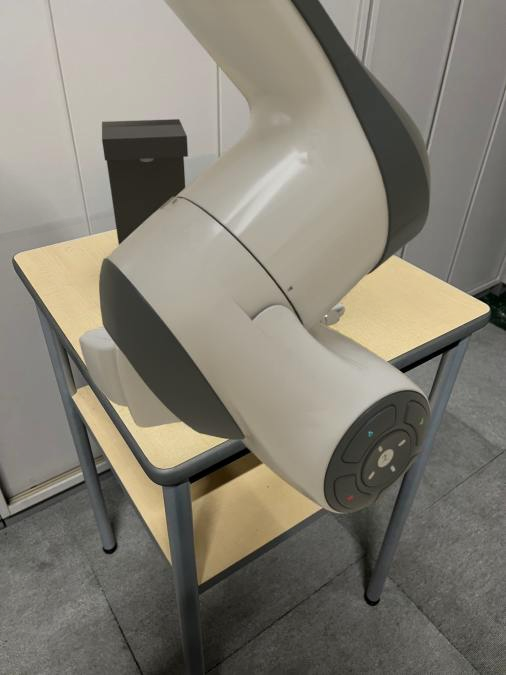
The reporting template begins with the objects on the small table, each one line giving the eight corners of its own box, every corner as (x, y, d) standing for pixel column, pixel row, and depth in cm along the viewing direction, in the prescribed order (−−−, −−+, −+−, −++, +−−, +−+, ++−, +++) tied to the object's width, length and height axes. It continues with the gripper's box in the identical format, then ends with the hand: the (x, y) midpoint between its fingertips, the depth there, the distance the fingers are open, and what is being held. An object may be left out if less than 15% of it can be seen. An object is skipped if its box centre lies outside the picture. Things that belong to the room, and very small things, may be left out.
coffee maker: (124, 300, 84) (101, 148, 69) (121, 259, 94) (101, 121, 80) (197, 292, 86) (191, 145, 72) (187, 254, 97) (179, 119, 82)
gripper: (353, 274, 40) (269, 248, 52) (92, 354, 33) (62, 302, 44) (358, 347, 43) (276, 306, 54) (116, 437, 35) (81, 367, 47)
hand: (178, 305), depth 49 cm, fingers open, 8 cm apart
